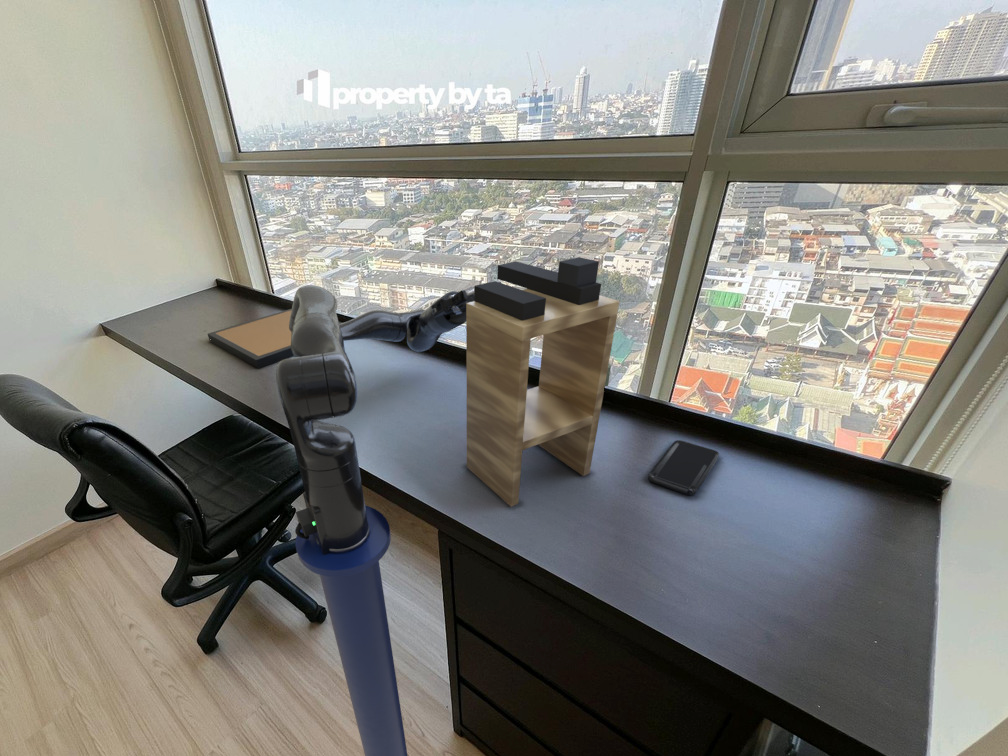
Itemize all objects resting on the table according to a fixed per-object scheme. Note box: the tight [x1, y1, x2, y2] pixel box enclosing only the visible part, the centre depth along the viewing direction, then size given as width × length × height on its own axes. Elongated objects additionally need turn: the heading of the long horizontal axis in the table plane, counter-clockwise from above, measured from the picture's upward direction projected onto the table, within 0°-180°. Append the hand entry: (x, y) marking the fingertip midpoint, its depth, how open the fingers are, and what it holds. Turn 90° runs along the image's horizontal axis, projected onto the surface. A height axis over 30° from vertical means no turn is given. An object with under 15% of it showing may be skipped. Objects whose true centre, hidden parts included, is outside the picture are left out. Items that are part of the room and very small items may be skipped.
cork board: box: [207, 308, 343, 370], centre depth 161 cm, size 36×3×35 cm
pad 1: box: [473, 280, 546, 321], centre depth 72 cm, size 4×12×2 cm, turn 27°
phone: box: [648, 439, 720, 496], centre depth 88 cm, size 8×1×15 cm
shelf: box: [465, 288, 620, 507], centre depth 82 cm, size 18×14×32 cm
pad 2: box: [497, 256, 602, 305], centre depth 78 cm, size 4×20×5 cm, turn 28°
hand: (483, 290), depth 94 cm, fingers open, 8 cm apart
